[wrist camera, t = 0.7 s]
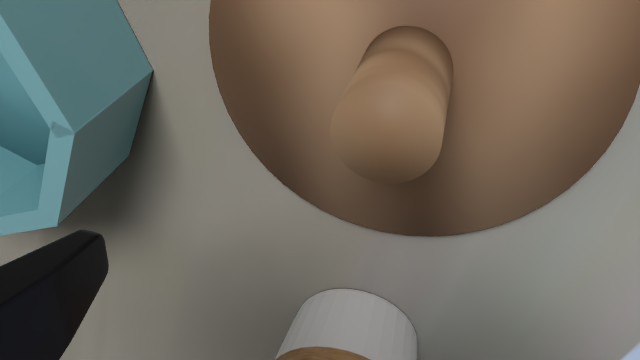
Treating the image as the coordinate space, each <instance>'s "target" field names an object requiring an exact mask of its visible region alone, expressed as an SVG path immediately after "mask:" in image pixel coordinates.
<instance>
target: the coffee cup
mask: <svg viewBox="0 0 640 360" xmlns="http://www.w3.org/2000/svg"><path fill="white" fill-rule="evenodd" d="M274 360H417V336H416V332H415V330H414V328H413V325H412V323H411V322H410V321H409V319H408V318H407V317H406V315H405V314H404V313H402V312H401V311H400V310H399V309H398V308H397V307H396V306H394V305H393V304H391V303H390V302H388V301H387V300H385V299H383V298H381V297H378V296H376V295H374V294H370V293H367V292H364V291H359V290H354V289H332V290H326V291H323V292H320V293H317V294H316V295H314V296H312V297H310V298H309V299H308V300H307V301H306V302H304V303H303V304H302V306H301V308H300V309H299V311H298V313H297V315H296V317H295V319H294V321H293V323H292V325H291V327H290V329H289V331H288V333H287V335H286V337H285V339H284V341H283V343H282V345H281V347H280V349H279V351H278V353H277V355H276V357H275V359H274Z"/></svg>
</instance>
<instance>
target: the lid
mask: <svg viewBox="0 0 640 360" xmlns="http://www.w3.org/2000/svg"><path fill="white" fill-rule="evenodd" d="M209 43H210V50H211V57H212V64H213V69H214V73H215V77H216V80H217V84H218V88H219V91H220V94H221V96H222V99H223V101H224V104H225V106H226V109H227V111H228V113H229V115H230V117H231V119H232V121H233V122H234V124H235V126H236V128H237V130H238V132H239V133H240V135H241V136H242V138H243V139H244V141H245V142H246V143H247V145H248V146H249V148H250V149H251V151H252V152H253V153H254V154H255V155H256V157H257V158H258V159H259V160H260V161H261V162H262V163H263V165H264V166H265V167H266V168H267V169H268V170H269V171H270V172H271V173H272V174H273V175H274V176H275V177H276V178H278V179H279V180H280V181H281V182H282V183H283V184H284V185H285V186H287V187H288V188H289V189H291V190H292V191H293V192H295V193H296V194H297V195H299V196H300V197H301V198H303V199H305V200H306V201H308V202H310V203H311V204H313V205H315V206H316V207H318V208H320V209H321V210H323V211H326V212H328V213H330V214H332V215H334V216H336V217H338V218H340V219H343V220H346V221H348V222H351V223H354V224H357V225H360V226H363V227H366V228H371V229H375V230H379V231H383V232H388V233H395V234H402V235H412V236H444V235H457V234H463V233H469V232H475V231H480V230H483V229H487V228H491V227H494V226H498V225H501V224H504V223H507V222H509V221H512V220H514V219H517V218H519V217H522V216H524V215H526V214H528V213H530V212H532V211H534V210H536V209H538V208H539V207H541V206H543V205H545V204H547V203H548V202H550V201H551V200H553V199H554V198H556V197H557V196H559V195H560V194H561V193H563V192H564V191H566V190H567V189H569V188H570V187H571V186H572V185H573V184H574V183H575V182H576V181H578V180H579V179H580V178H581V177H582V176H583V175H584V174H585V173H587V172H588V171H589V170H590V168H591V167H592V166H593V165H594V164H595V163H596V162H597V160H598V159H599V158H600V157H601V156H602V155H603V154H604V152H605V151H606V150H607V149H608V147H609V146H610V144H611V143H612V141H613V140H614V138H615V136H616V135H617V133H618V132H619V130H620V129H621V127H622V125H623V123H624V121H625V119H626V117H627V115H628V113H629V111H630V109H631V107H632V105H633V103H634V100H635V97H636V94H637V91H638V87H639V84H640V0H211V5H210V14H209Z"/></svg>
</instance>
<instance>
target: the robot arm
mask: <svg viewBox="0 0 640 360" xmlns="http://www.w3.org/2000/svg"><path fill="white" fill-rule="evenodd" d="M108 267H109V265H108V258H107V252H106V246H105V240H104V238H103V236H102V235H101V234H99V233H95V232H91V231H88V230H79V231H76V232H74V233H72V234H69V235H67V236H65V237H63V238H61V239H59V240H56V241H54V242H52V243H50V244H48V245H46V246H43V247H41V248H39V249H37V250H35V251H33V252H30V253H28V254H26V255H24V256H22V257H20V258H17V259H15V260H13V261H11V262H9V263H7V264H4V265H2V266H0V360H59V359H60V357H61V356H62V355H63V353H64V351H65V350H66V348H67V347H68V345H69V344H70V342H71V340H72V338H73V337H74V335H75V333H76V331H77V330H78V328H79V326H80V324H81V322H82V320H83V318H84V317H85V315H86V313H87V311H88V309H89V307H90V306H91V304H92V302H93V300H94V298H95V296H96V294H97V293H98V291H99V289H100V287H101V285H102V283H103V282H104V280H105V278H106V275H107V273H108Z"/></svg>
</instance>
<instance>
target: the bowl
mask: <svg viewBox="0 0 640 360" xmlns="http://www.w3.org/2000/svg"><path fill="white" fill-rule="evenodd" d="M152 71H153V69H152V68H151V66H150V64H149V62H148V60H147V58H146V56H145V54H144V52H143V50H142V48H141V46H140V44H139V43H138V41H137V39H136V37H135V35H134V33H133V31H132V29H131V27H130V25H129V23H128V21H127V19H126V18H125V16H124V14H123V12H122V10H121V8H120V6H119V4H118V2H117V0H0V236H1V235H7V234H13V233H19V232H25V231H31V230H38V229H44V228H50V227H56V226H58V225H59V224H60V223H61V222H62V221H63V220H64V219H65V218H66V217H67V216H68V215H69V214H70V213H71V212H72V211H73V210H74V209H75V208H76V207H77V206H78V205H79V204H80V203H81V202H82V201H83V200H84V199H85V198H86V197H87V196H89V195H90V194H91V193H92V192H93V191H94V190H95V189H96V188H97V187H98V186H99V185H100V184H101V183H102V182H103V181H104V180H105V179H106V178H107V177H108V176H109V175H110V174H111V173H112V172H113V171H114V170H115V169H116V168H117V167H118V166H119V165H120V164H121V163H122V162H123V161H124V160H125V159H126V158H127V157H128V156H129V154H130V150H131V147H132V143H133V139H134V136H135V132H136V129H137V125H138V122H139V118H140V114H141V111H142V107H143V104H144V100H145V96H146V93H147V89H148V86H149V82H150V78H151V75H152Z"/></svg>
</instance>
